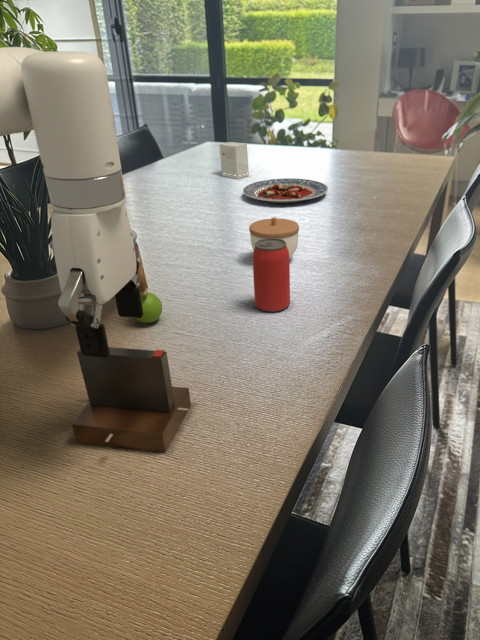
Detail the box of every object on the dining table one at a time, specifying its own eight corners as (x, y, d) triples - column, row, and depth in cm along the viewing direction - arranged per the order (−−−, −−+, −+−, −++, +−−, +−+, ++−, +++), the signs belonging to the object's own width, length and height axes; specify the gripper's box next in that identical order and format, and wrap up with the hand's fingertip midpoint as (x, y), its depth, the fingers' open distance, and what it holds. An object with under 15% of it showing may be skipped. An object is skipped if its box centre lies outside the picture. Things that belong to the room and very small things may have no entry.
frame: (90, 405, 72) (76, 350, 67) (96, 397, 73) (83, 343, 69) (170, 412, 70) (161, 357, 65) (174, 404, 71) (166, 349, 67)
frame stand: (54, 454, 68) (48, 434, 66) (108, 387, 81) (104, 368, 79) (170, 468, 66) (167, 447, 64) (207, 395, 78) (205, 377, 76)
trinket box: (303, 266, 119) (303, 223, 114) (254, 270, 117) (251, 227, 112) (294, 249, 128) (293, 209, 122) (248, 253, 126) (246, 212, 121)
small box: (249, 176, 190) (247, 143, 185) (237, 179, 187) (235, 146, 181) (233, 173, 195) (230, 141, 189) (221, 176, 191) (219, 143, 186)
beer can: (253, 299, 105) (250, 238, 99) (287, 296, 106) (286, 236, 99) (256, 314, 100) (253, 250, 93) (292, 311, 100) (291, 248, 94)
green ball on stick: (161, 310, 102) (151, 248, 96) (166, 325, 97) (156, 260, 90) (131, 315, 101) (119, 252, 94) (135, 330, 95) (122, 265, 89)
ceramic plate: (314, 210, 153) (315, 200, 152) (230, 204, 161) (229, 194, 159) (337, 187, 174) (337, 178, 172) (260, 183, 181) (260, 174, 180)
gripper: (92, 169, 65) (116, 301, 74) (4, 212, 50) (48, 369, 60) (152, 171, 63) (169, 305, 73) (80, 216, 49) (112, 376, 58)
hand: (114, 334), depth 66 cm, fingers open, 9 cm apart
